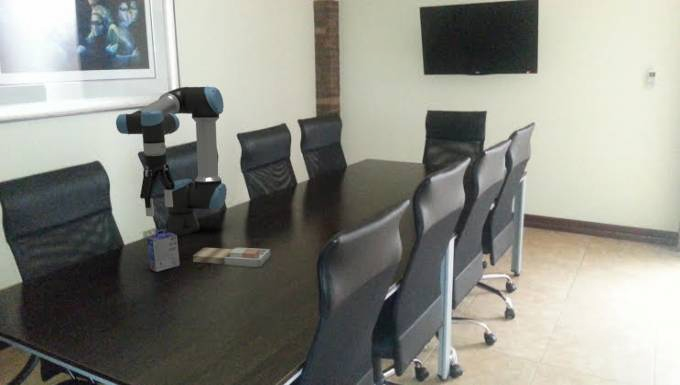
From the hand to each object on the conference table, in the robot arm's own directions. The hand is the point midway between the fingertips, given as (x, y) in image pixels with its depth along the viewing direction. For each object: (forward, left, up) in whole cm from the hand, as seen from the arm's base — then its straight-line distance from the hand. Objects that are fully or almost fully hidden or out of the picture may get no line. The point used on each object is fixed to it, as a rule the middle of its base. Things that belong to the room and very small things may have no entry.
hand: (160, 211), depth 205 cm
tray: (+28, +12, -22) cm, 38 cm away
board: (+14, +12, -22) cm, 29 cm away
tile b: (+30, +12, -21) cm, 38 cm away
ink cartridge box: (0, 0, -22) cm, 22 cm away
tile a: (+25, +12, -21) cm, 35 cm away
